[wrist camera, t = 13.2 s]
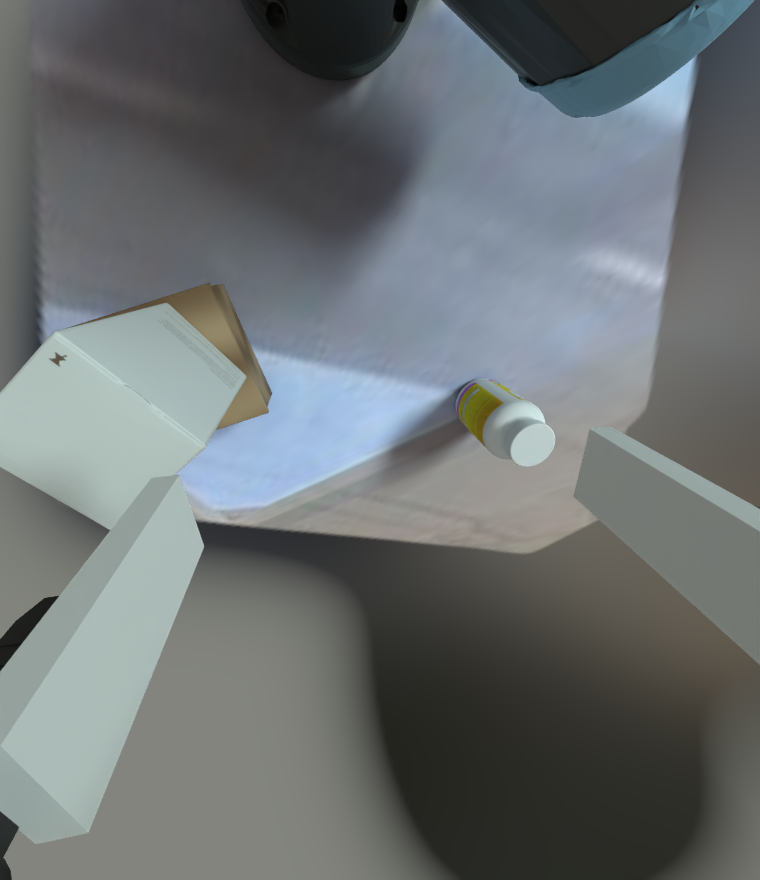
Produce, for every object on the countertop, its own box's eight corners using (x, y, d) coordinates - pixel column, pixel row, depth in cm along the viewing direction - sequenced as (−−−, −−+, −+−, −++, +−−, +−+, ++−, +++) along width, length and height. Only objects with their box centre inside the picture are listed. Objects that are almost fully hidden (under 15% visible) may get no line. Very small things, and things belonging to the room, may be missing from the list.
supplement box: (99, 368, 32) (-59, 441, 18) (167, 299, 30) (49, 323, 17) (186, 436, 36) (109, 537, 22) (250, 377, 34) (208, 447, 21)
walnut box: (103, 319, 35) (65, 328, 30) (223, 281, 36) (207, 283, 30) (171, 427, 41) (149, 451, 36) (274, 394, 41) (268, 412, 36)
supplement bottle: (453, 429, 47) (497, 480, 36) (453, 380, 44) (501, 419, 33) (501, 421, 48) (560, 470, 36) (504, 373, 45) (569, 409, 33)
